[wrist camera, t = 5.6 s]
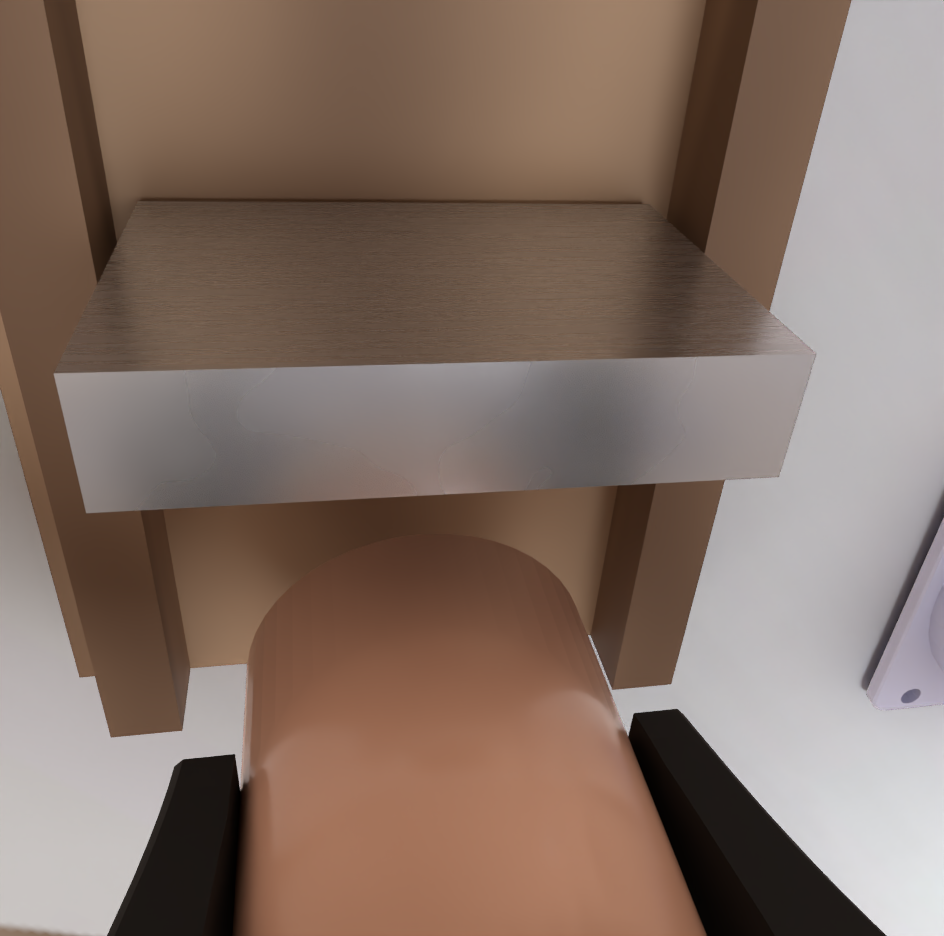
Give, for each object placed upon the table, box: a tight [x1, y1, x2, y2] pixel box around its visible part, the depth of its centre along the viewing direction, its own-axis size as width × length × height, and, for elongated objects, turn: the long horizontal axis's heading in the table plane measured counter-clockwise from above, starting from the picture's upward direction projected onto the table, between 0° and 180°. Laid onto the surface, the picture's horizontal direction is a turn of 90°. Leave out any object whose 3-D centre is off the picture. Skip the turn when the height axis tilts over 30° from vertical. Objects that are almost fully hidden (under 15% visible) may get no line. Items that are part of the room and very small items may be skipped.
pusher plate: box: [54, 201, 816, 513], centre depth 11 cm, size 7×2×5 cm, turn 85°
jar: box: [232, 534, 707, 936], centre depth 10 cm, size 5×5×7 cm
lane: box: [0, 0, 851, 737], centre depth 10 cm, size 12×21×6 cm, turn 175°
